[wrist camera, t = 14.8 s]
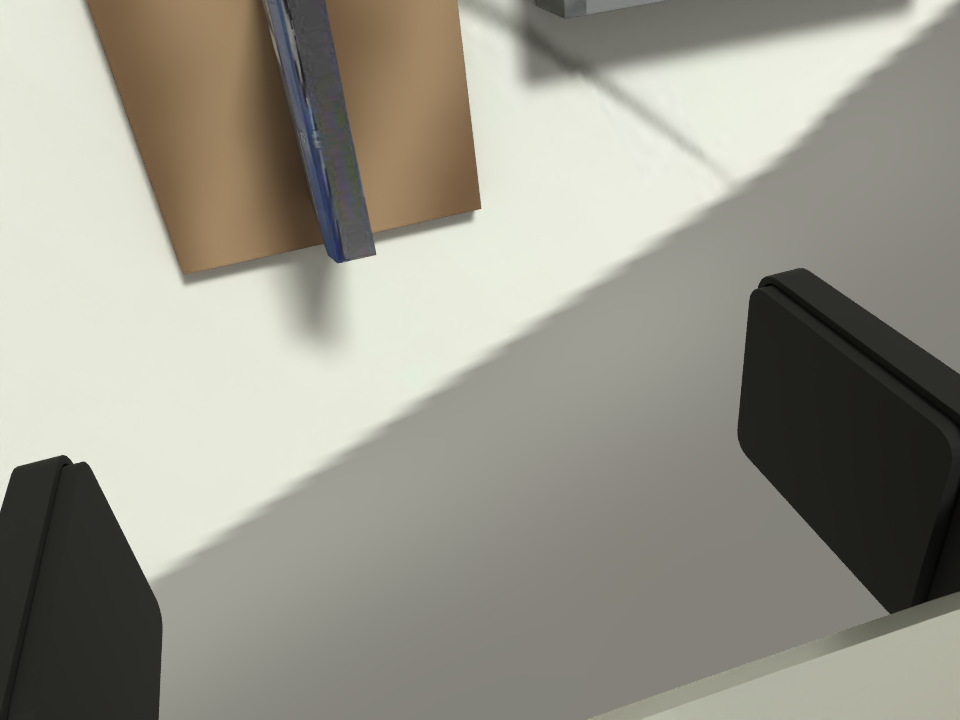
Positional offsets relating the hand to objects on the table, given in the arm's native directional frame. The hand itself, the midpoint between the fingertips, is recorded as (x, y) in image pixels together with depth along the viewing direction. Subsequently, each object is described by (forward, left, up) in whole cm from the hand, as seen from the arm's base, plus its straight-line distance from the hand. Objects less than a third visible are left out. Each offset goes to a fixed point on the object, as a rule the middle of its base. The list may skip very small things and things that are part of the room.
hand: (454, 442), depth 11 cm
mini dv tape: (0, 0, -22) cm, 22 cm away
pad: (0, 0, -22) cm, 22 cm away
